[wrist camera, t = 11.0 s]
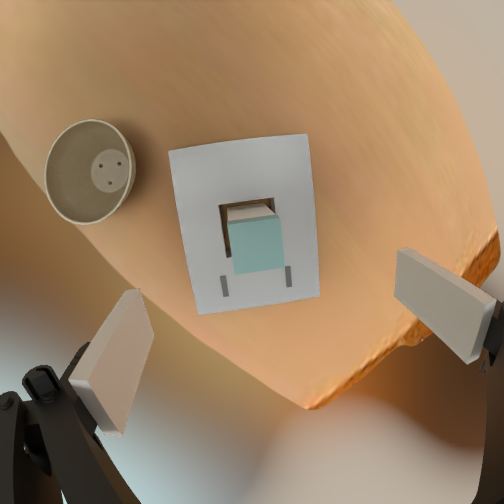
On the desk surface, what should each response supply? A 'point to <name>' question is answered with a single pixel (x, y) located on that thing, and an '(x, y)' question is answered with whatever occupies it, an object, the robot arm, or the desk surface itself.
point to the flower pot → (89, 172)
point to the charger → (255, 238)
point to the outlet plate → (237, 190)
